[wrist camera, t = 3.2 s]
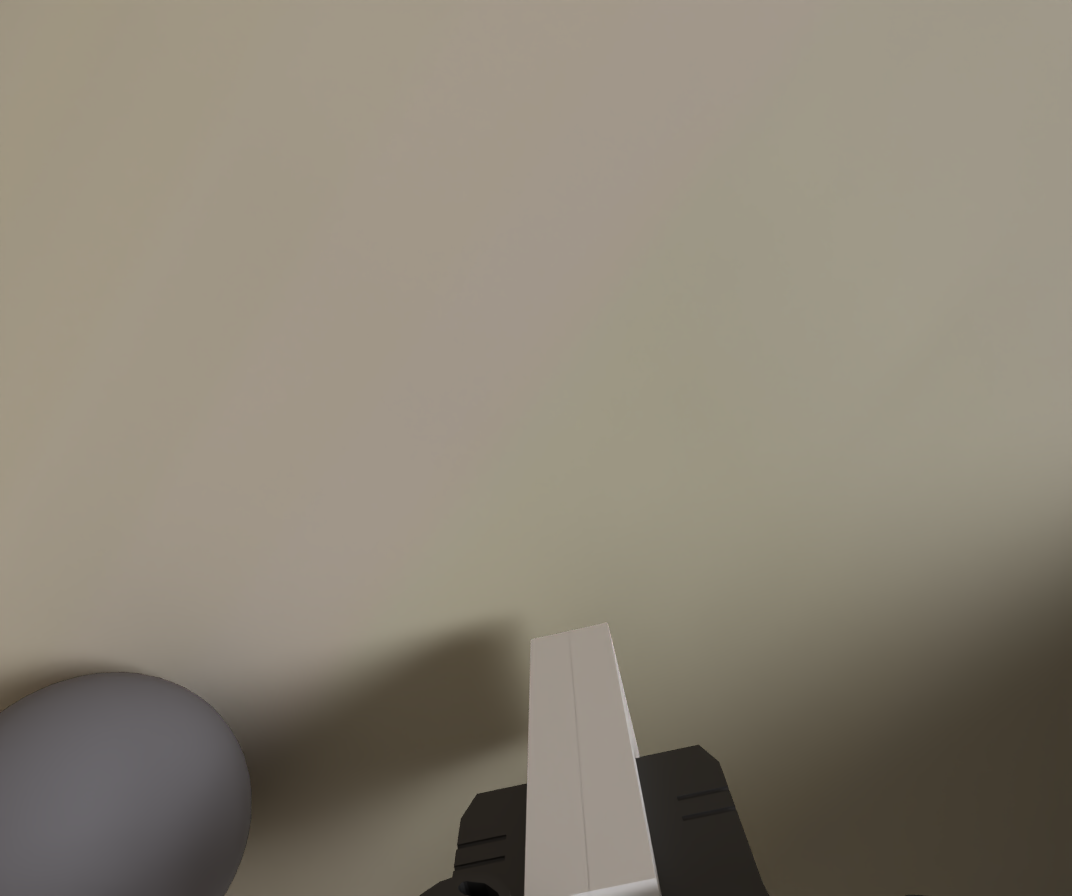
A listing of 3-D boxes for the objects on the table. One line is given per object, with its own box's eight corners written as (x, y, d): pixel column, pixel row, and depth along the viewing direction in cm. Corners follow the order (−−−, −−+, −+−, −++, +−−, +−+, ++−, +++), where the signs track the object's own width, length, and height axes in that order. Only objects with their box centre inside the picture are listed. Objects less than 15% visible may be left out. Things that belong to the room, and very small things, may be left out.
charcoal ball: (243, 600, 17) (108, 752, 12) (318, 820, 18) (227, 1049, 13) (0, 655, 18) (-236, 826, 12) (90, 868, 19) (-91, 1110, 13)
